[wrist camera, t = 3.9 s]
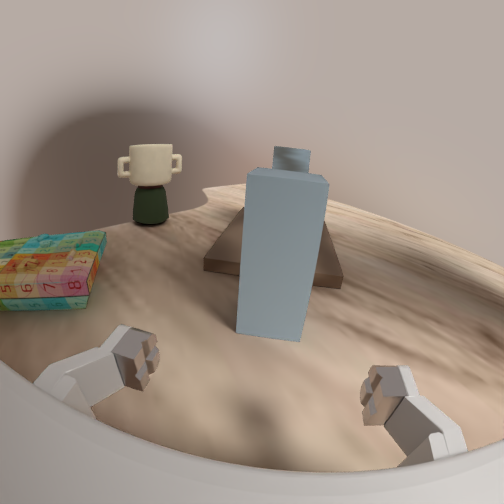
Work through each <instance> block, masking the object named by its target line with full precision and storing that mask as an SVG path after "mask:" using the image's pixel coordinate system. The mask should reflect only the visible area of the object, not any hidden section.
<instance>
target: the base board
mask: <svg viewBox="0 0 504 504" xmlns="http://www.w3.org/2000/svg"><path fill="white" fill-rule="evenodd" d="M310 153H311V151H310V150H304V149H296V148H288V147H279V146H275V147H274V156H273V166H272V169H278V170H287V171H295V172H303V173H308V171H309V162H310ZM244 208H245V207H243V208H242V209H241V210H240V212H239V213H238V214H237V215H236V217H235V218H234V219H233V221H232V222H231V223H230V224H229V226H228V227H227V228H226V230H225V231H224V232H223V234H222V235H221V236H220V237H219V239H218V240H217V241H216V243H215V244H214V245H213V247H212V248H211V249H210V250H209V252H208V253H207V254H206V256H205V257H204V270H206V271H213V272H219V273H226V274H233V275H240V264H241V249H242V235H243V222H244ZM342 280H343V273H342V270H341V267H340V264H339V261H338V258H337V255H336V252H335V249H334V246H333V244H332V241H331V238H330V235H329V232H328V229H327V227H326V224H325V221H324V224H323V230H322V236H321V241H320V247H319V253H318V258H317V263H316V269H315V274H314V279H313V284H312V285H314V286H322V287H331V288H339V289H340V288H341V284H342Z"/></svg>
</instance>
